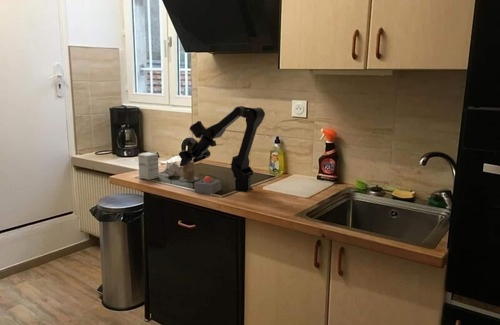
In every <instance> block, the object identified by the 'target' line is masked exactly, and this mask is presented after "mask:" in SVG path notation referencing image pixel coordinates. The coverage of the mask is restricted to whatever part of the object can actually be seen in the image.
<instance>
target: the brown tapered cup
mask: <svg viewBox="0 0 500 325" xmlns="http://www.w3.org/2000/svg"><path fill="white" fill-rule="evenodd" d="M182 177H183V179H185V180H191V179H194V177H195V163H194V161H193V160H192V161H191V162H190V163H189V164H186V165H184V166H182Z"/></svg>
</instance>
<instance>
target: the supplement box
mask: <svg viewBox="0 0 500 325" xmlns="http://www.w3.org/2000/svg"><path fill="white" fill-rule="evenodd" d="M137 156H138V177H139V178H140V179H144V180H147V181H149V180H153V179H157V178H159V177H160V175H159V171H160V170H159V153H156V152H150V151H149V152H148V151H147V152H143V153H142V152H141V153H138V155H137Z"/></svg>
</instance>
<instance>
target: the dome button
mask: <svg viewBox="0 0 500 325" xmlns="http://www.w3.org/2000/svg"><path fill="white" fill-rule="evenodd" d="M203 179H204V180H203V183H212V182H213V180H212V179H213V178H212V177H211V176H208V175H207V176H205V177H204V178H203Z"/></svg>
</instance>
